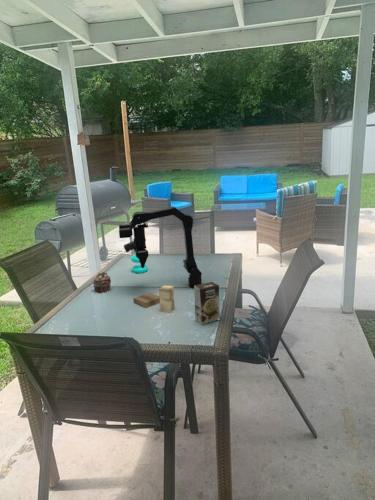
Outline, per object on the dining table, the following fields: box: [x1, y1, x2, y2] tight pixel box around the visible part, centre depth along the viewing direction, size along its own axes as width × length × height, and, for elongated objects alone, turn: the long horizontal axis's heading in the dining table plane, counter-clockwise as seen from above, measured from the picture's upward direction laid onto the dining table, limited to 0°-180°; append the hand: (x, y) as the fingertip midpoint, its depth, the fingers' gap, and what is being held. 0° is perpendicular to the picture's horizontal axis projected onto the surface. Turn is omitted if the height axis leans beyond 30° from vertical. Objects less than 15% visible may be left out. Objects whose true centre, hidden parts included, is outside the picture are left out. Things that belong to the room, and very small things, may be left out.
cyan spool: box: [130, 254, 149, 274], centre depth 244 cm, size 10×10×10 cm
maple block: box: [158, 285, 175, 313], centre depth 182 cm, size 5×5×11 cm
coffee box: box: [193, 281, 221, 325], centre depth 168 cm, size 9×6×16 cm
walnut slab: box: [133, 292, 160, 309], centre depth 193 cm, size 10×10×3 cm
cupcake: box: [92, 271, 112, 294], centre depth 213 cm, size 10×10×10 cm
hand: (141, 265), depth 205 cm, fingers open, 9 cm apart
